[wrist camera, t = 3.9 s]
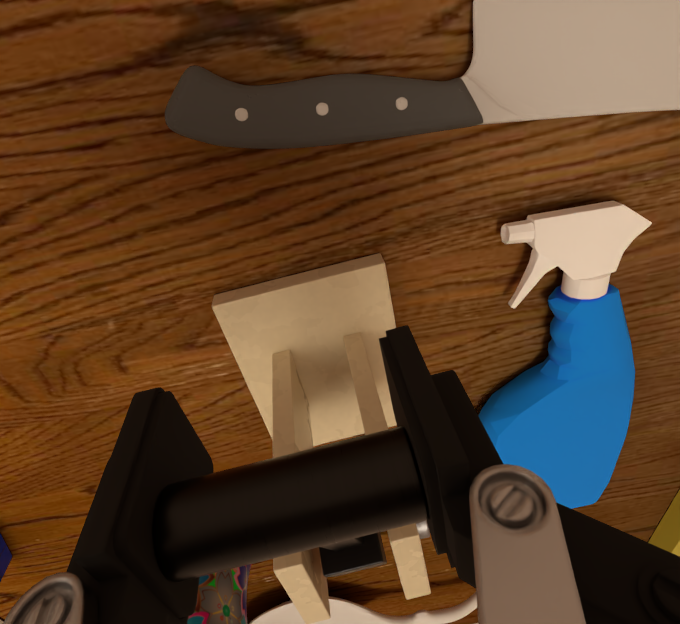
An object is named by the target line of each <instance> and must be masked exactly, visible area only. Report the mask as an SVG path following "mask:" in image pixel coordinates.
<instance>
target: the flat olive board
mask: <svg viewBox="0 0 680 624" xmlns="http://www.w3.org/2000/svg"><path fill="white" fill-rule="evenodd" d="M648 543H650V544H652V545H654V546H657V547H659V548H661V549H664V550H666V551H668V552H670V553H673V554H675V555H677V556H680V490H679V491H678V493H677V495H676V496H675V498H674V500H673V501H672V503H671V505H670V506H669V508H668V510H667V511H666V513H665V515H664V517H663V518H662V520H661V522H660V523H659V525H658V527H657V528H656V530H655V532H654V533H653V535H652V537H651V538H650V540H649V542H648Z"/></svg>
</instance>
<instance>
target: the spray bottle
mask: <svg viewBox="0 0 680 624" xmlns="http://www.w3.org/2000/svg"><path fill="white" fill-rule="evenodd" d="M651 223H652V222H650V221H648V220H647V219H645V218H644V217H642V216H641V215H639V214H637V213H636V212H634V211H633V210H631V209H629V208H628V207H626V206H625V205H623V204H620V203H618V202H616V201H608V202H602V203H596V204H590V205H585V206H579V207H573V208H567V209H561V210H555V211H550V212H544V213H538V214H532V215H528V216H527V219H526V220H523V221H517V222H512V223H506V224H504V225H503V226H502V227H501V238H502V241H503V242H504V243H505V244H512V243H524V242H526V243H527V244H529V245H530V246H531V247H532V248H533V249H532V251H531V256H530V260H529V263H528V265H527V268H526V270H525V272H524V274H523V276H522V279H521V281H520V283H519V285H518V287H517V290H516V292H515V293H514V295H513V296H512V298H511V299H510V301H509V302H508V304H509V305H510V307H512V308H514V309H515V308H516V307H517V306H518V304H519V303H520V302H521V301H522V300H523V299H524V298H525V296H526V295H527V294H528V293H529V292H530V291H531V290H532V288H533V287H534V286H535V285H536V284H537V282H538V281H539V280H540V279H541V278H542V277H543V275H544V274H545V273H546V272H548V271H550V270H552V269H553V268H555V267H557V266H558V267H559V268H560V269H561V270H563V271H564V272H563V278H562V284H561V285H560V286H558V287H556V288H555V290H554V291H553V292H552V293H551V294H550V296H549V298H548V305H549V307H550V309H551V311H552V312H553V314H554V315H555V316H554V318H553V319H552V321H551V323H550V334H551V337H552V339H551V341H550V342H549V344H548V353H549V355H548V356H547V358H546V359H545V361H543V362H542V363H540V364H538V365H536V366H534V367H532V368H530V369H528V370H526V371H524V372H523V373H521V374H520V375H518V376H517V377H516V378H514V379H513V380H511V381H510V382H509V383H507V384H506V385H504V386H503V387H502V388H500V389H499V390H497V391H496V392H494V393H493V394H492V395H491V396H490V398H489V399H488V401H487V402H486V404H485V405H484V406H483V408H482V410H481V412H480V413H479V415H478V416H479V418H480V420H481V422H482V424H483V426H484V428H485V430H486V432H487V433H488V435H489V437H490V439H491V441H492V443H493V445H494V447H495V449H496V451H497V452H498V454H499V456H500V458H501V460H502V462H503V464H510V465H517V466H520V467H523V468H526V469H528V470H531V471H532V472H534V473H535V474H536V475H538V476H539V477H541V478H542V479H543V480H544V481H545V483H546V484H547V485H548V486H549V487H550V489H551V491H552V493H553V496H554V498H555V500H556V502H557V503H559V504H561V505H563V506H566V507H568V508H570V509H571V508H576V507H581V506H585V505H590V504H594V503H595V502H596V501H598V499H599V497H600V496H601V494H602V493H603V491H604V489H605V488H606V486H607V485H608V483H609V481H610V478H611V475H612V473H613V470H614V467H615V465H616V462H617V459H618V456H619V454H620V451H621V448H622V446H623V443H624V440H625V438H626V435H627V430H628V425H629V420H630V414H631V409H632V403H633V396H634V381H635V368H634V361H633V354H632V347H631V340H630V336H629V331H628V327H627V323H626V319H625V315H624V311H623V307H622V302H621V298H620V294H619V290H618V289H617V288H615V287H614V286H612V285H611V284H609V279H610V275H611V273H613V272H616V270H617V267H618V265H619V262H620V260H621V257H622V255H623V252H624V251H625V250H626V248H627V247H628V246H629V245H630V243H631V242H632V241H633V240H634V239H635V238H636V237H637V236H638V235H639V234H641V233H642V232H643V231H644V230H645V229H647V228H648V227H649V226H650V225H651Z"/></svg>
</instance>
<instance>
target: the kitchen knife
mask: <svg viewBox="0 0 680 624" xmlns="http://www.w3.org/2000/svg"><path fill="white" fill-rule="evenodd" d="M664 110H680V0H474V1H473V57H472V61H471V64H470V66H469V68H468V70H467V71H466V73H465V74H464V75H463V76H462V77H460V78H455V79H452V80H449V81H431V80H422V79H412V78H402V77H392V76H383V75H371V74H337V75H328V76H321V77H315V78H310V79H304V80H298V81H293V82H286V83H278V84H271V85H260V86H249V85H242V84H238V83H235V82H232V81H229V80H226V79H224V78H221V77H219V76H217V75H215V74H213V73H212V72H210V71H208V70H206V69H205V68H202V67H200V66H190V67H189V68H187V69H186V70H185V72H184V73H183V75H182V76H181V78H180V80H179V82H178V84H177V86H176V88H175V90H174V92H173V94H172V96H171V98H170V100H169V102H168V104H167V107H166V110H165V120H166V124H167V125H168V127H169V128H170V129H171V130H172V131H174V132H176V133H178V134H180V135H182V136H185V137H188V138H191V139H194V140H198V141H201V142H205V143H209V144H213V145H218V146H225V147H237V148H259V149H281V148H302V147H315V146H326V145H336V144H345V143H353V142H362V141H370V140H378V139H387V138H395V137H402V136H410V135H417V134H424V133H431V132H437V131H444V130H451V129H457V128H464V127H471V126H476V125H483V124H495V123H507V122H518V121H529V120H541V119H553V118H566V117H578V116H591V115H605V114H618V113H631V112H646V111H664Z"/></svg>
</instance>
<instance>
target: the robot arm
mask: <svg viewBox="0 0 680 624" xmlns="http://www.w3.org/2000/svg"><path fill="white" fill-rule="evenodd" d="M379 343H380V348H381V353H382V358H383V363H384V368H385V372H386V377H387V382H388V387H389V392H390V397H391V402H392V407H393V412H394V416H395V420H396V424H397V427H400V426H402V427H404V428H405V429H406V431H407V433H408V436H409V439H410V442H411V444H412V448H413V451H414V454H415V457H416V461H417V464H418V468H419V471H420V475H421V478H422V482H423V486H424V490H425V494H426V499H427V503H428V508H429V519H428V520H427V523H428V527H429V530H430V533H431V536H432V540H433V543H434V546H435V549H436V552H437V554H438V555H439V554H443V553H447V556H448V559H449V562H450V565H451V568H453V567H456V570H457V573H458V576H459V578H460V579H462V580H463V581H465V582H467V583H468V584H470V585H471V586H473V587H475V588H476V595H477V608H478V621H479V624H680V556H677V555H675V554H673V553H670V552H668V551H666V550H664V549H661V548H659V547H657V546H654V545H652V544H650V543H648V542H645V541H643V540H641V539H639V538H636V537H634V536H632V535H629V534H627V533H625V532H623V531H620V530H618V529H616V528H613V527H611V526H609V525H607V524H604V523H602V522H600V521H598V520H595V519H593V518H591V517H588V516H586V515H584V514H582V513H579V512H577V511H575V510H573V509H570V508H568V507H566V506H563V505H561V504H559V503H557V502H556V500H555V498H554V496H553V493H552V491H551V489H550V487H549V486H548V485H547V484H546V483H545V481H544V480H543V479H542V478H541V477H539V476H538V475H536V474H535V473H534V472H532V471H531V470H528V469H526V468H523V467H520V466H517V465H510V464H503V462H502V460H501V458H500V456H499V454H498V452H497V451H496V449H495V447H494V445H493V443H492V441H491V439H490V437H489V435H488V433H487V432H486V430H485V428H484V426H483V424H482V422H481V420H480V418H479V416H478V414H477V412H476V411H475V409H474V407H473V405H472V403H471V401H470V399H469V397H468V395H467V393H466V392H465V390H464V388H463V386H462V384H461V382H460V380H459V378H458V376H457V375H456V373H455V372H454V371H453V370H450V371H446V372H442V373H438V374H434V375H430V373H429V371H428V369H427V366H426V364H425V362H424V360H423V357H422V355H421V353H420V351H419V349H418V346H417V344H416V342H415V340H414V337H413V335H412V333H411V331H410V329H409V327H408V326H407V325H406V326H402V327H398V328H394V329H390V330H386V337H383V338H379ZM212 473H213V463H212V460H211V457H210V456H209V454H208V452H207V451H206V449H205V447H204V446H203V444H202V442H201V441H200V439H199V437H198V436H197V434H196V432H195V431H194V429H193V427H192V426H191V424H190V422H189V420H188V419H187V417H186V415H185V414H184V412H183V410H182V409H181V407H180V405H179V404H178V402H177V400H176V399H175V397H174V395H173V394H172V393H171V392H170V391H167V392H165V391H164V390H163V389H162V388H154V389H150V390H146V391H142V392H138V393H136V394H135V395H134V397H133V399H132V401H131V404H130V407H129V409H128V412H127V415H126V418H125V420H124V423H123V426H122V428H121V431H120V434H119V437H118V439H117V442H116V445H115V447H114V450H113V453H112V456H111V457H110V459H109V461H108V463H107V465H106V468H105V470H104V473H103V476H102V478H101V481H100V484H99V486H98V489H97V492H96V494H95V497H94V500H93V502H92V505H91V508H90V510H89V513H88V516H87V518H86V521H85V524H84V526H83V529H82V532H81V535H80V537H79V540H78V543H77V545H76V548H75V551H74V553H73V556H72V559H71V561H70V564H69V567H68V569H67V572H64V573H56V574H54V575H51V576H48V577H46V578H44V579H43V580H41V581H40V582H38V583H37V584H35V585H34V586H32V587H31V588H30V589H29V590H28V591H27V592H26V593H25V594H24V595H22V596H21V598H20V599H19V600H18V601H17V603H16V604H15V605H14V606H13V607H12V609H11V610H10V612H9V614H8V615H7V617H6V619H5V621H4V622H3V624H187V621H188V616H190V615H192V614H193V613H194V611H195V608H196V602H197V594H198V587H199V579H200V577H197V578H193V579H189V580H185V581H181V582H173V581H170V580H169V579H167V578H166V577H165V576H164V574H163V573H162V571H161V569H160V567H159V564H158V562H157V559H156V555H155V550H154V544H153V529H152V527H153V514H154V508H155V504H156V501H157V498H158V496H159V494H160V492H161V491H162V490H163V489H164V488H165V487H166V486H167V485H169V484H172V483H176V482H180V481H184V480H188V479H192V478H196V477H200V476H204V475H208V474H212Z"/></svg>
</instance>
